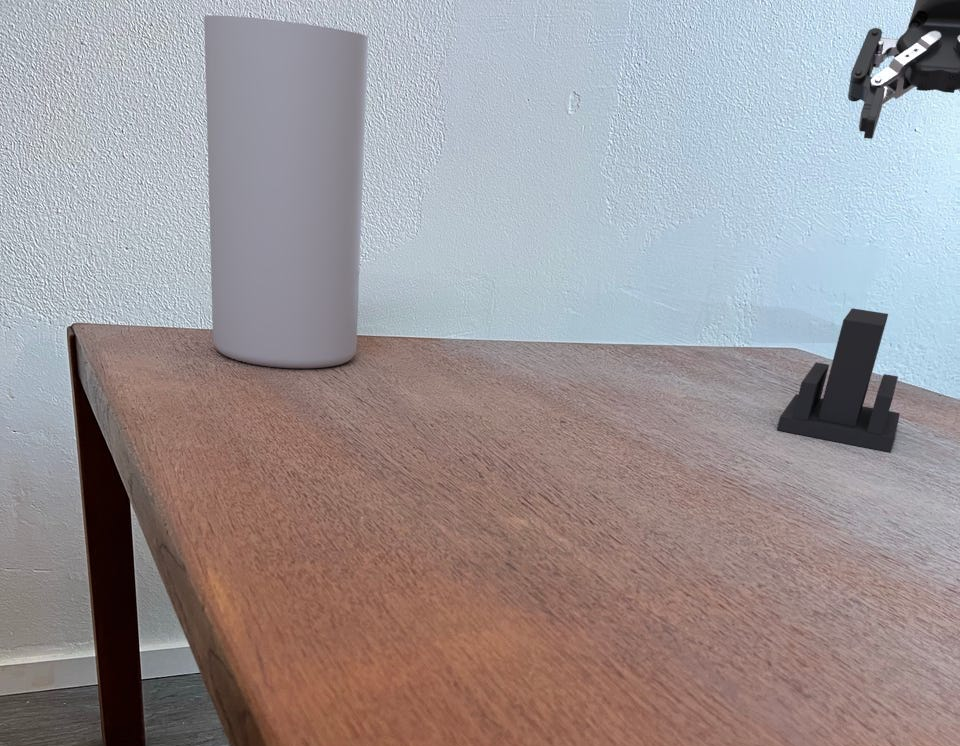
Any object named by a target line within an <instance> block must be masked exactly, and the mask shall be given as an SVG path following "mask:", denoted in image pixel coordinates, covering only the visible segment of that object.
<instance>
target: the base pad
mask: <svg viewBox="0 0 960 746" xmlns="http://www.w3.org/2000/svg"><path fill="white" fill-rule="evenodd" d="M829 367H830V364H827V363H823V362H822V363H821V362H815V363H814V364H813V366H812V367H811V368H810V370H809V371H808V372H807V374H806V375H805V377H804V378H803V379H802V380H801V383H800V387H799V391H798V394H797V393H795V395H794V396H793V397H792V399H791V401H790V402H789V403H788V405H787V406H786V408H785V409H784V410H783V412H782V413H781V415H780V416H779V418H778V419H779V420H778V424H777V428H776V431H780V432H784V433H789V434H794V435H799V436H804V437H810V438H816V439H820V440H824V441H831V442H835V443H841V444H845V445H851V446H856V447H861V448H866V449H872V450H875V451H882V452H888V453H891V452H892V450H893V446H894V443H895V439H896V435H897V430H898V424H899V420H900V415H901V414H900V412H897V411H891V409H890V408H891V407H892V402H893V399H894V395H895V390H896V386H897V382H898V380H899V379H898V378H899V376H898V375H892V374H886V373H883V375H882V378H881V381H880V383H879V387H878V390H877V393H876V396H875V400H874V403H873V406H872V407H869V406H864V405H863V407H862V410H861V413H860V415H859V418H858V421H857V424H856V426H855V427H851V426H846V425H841V424H836V423H830V422H825V421H820V420H818V416H819V412H820V408H821V404H822V401H823V398H822V395H823V391H824V387H825V382H826V379H827V377H828V372H829Z"/></svg>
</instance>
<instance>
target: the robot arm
mask: <svg viewBox="0 0 960 746" xmlns="http://www.w3.org/2000/svg"><path fill="white" fill-rule="evenodd" d="M882 35H883V31H882V29H881V28H879V27H873V28H870V29H869V30H868V31H867V34H866V36H865V38H864V41H863V43H862V46H861V48H860V50H859V53H858V55H857V58H856V61H855V62H854V65H853V67H852V70H851V72H850V79H849V84H848V85H849V88H848V92H847V99H848V100H849V101H850V102H858V101H863V105H862V109H861V112H860V115H859V116H860V117H859V122H858V124H859V125H858V130H859V132H861V133H862V132H863V133H864V135H863V139H869V140H873V138H874V134H875V131H876V128H877V125H878V122H879V118H880V115H881V112H882V109H883V108H882V107H883V105H884V104H886V103H887V102H889V101H890V100H892V99H895V100H898V99H899V98H900V97H902V96H904V95H905V94H906V93H908V92H910V91H911V90H912V89H914V88H916V91H924V92H927V91H939V92H943V93H950V94H955V91H958V92H959V93H960V0H915V3H914V6H913V9H912V12H911V16H910V19H909V22H908V25H907V28H906V31H905V32H904V33H903V34H902V35H900V37H898V39H897V38H887V37H882ZM890 57H893V59H892V60H891V61H890V63H889V65H887V67H885V68H884V69H882V70H881V71H879V72H877V74H875V75H873V76H872V73H873V70H874V69H878V68H880V66H881V64H882V63H884V62H885V60H886V59H887V58H890Z"/></svg>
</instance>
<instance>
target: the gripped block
mask: <svg viewBox="0 0 960 746" xmlns="http://www.w3.org/2000/svg"><path fill="white" fill-rule="evenodd" d="M888 317H889V313H885V312H879V311H872V310H865V309H861V308H854V307H853V308H851V309H850V310H849V312H848V313H847V314H846V316H845V317H844V319H843V320H842V324H841V328H840V331H839V335H838V339H837V343H836V346H835V350H834V353H833V354H834V355H833V359H832V362H831V365H830V370H829V373H828V376H827V377H828V378H827V381H826V385H825V388H824V389H825V390H824V392H823V397H822V399H823V401H822V404H821V408H820V412H819V416H818V420H820V421H825V422H830V423H836V424H841V425H846V426H851V427H855V426H856V424H857V421H858V418H859V415H860V413H861V410H862V407H863V406H864V404H865V400H866V397H867V392H868V388H869V385H870V381H871V378H872V374H873V371H874V367H875V365H876V364H875V363H876V360H877V357H878V353H879V350H880V347H881V342H882V339H883V335H884V331H885V328H886V325H887V321H888Z"/></svg>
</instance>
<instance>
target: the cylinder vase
mask: <svg viewBox="0 0 960 746" xmlns="http://www.w3.org/2000/svg"><path fill="white" fill-rule="evenodd" d="M203 22H204V24H203V25H204V58H205V63H204V64H205V93H206V94H205V95H206V98H205V99H206V129H207V130H206V132H207V138H206V139H207V169H208V173H207V175H208V205H209V208H208V209H209V241H210V243H209V245H210V278H211V279H210V280H211V284H210V285H211V314H212V315H211V316H212V317H211V318H212V342H213V346H214V348H215V349H216V350H217V351H218V352H219V353H220V354H222V356H223V355H224V356H225V357H228V358H230V359H232V360H234V359H235V361H238V362H241V361H242V362H241V363H245V362H246V363H245V364H251V365H255V366H263V367H270V368H280V369H321V368H322V369H323V368H330V367H335V366H339V365H344V364H345V363H347V362H350V361H351V360H352V359H353V358H354V357H355V355H356V352H357V345H358V344H357V341H358V314H359V291H360V289H359V288H360V266H361V264H360V263H361V239H362V238H361V237H362V213H363V211H362V210H363V187H364V185H363V183H364V159H365V135H366V106H367V85H368V83H367V81H368V57H369V53H368V52H369V36H367V35H365V34H362V33H358V32H355V31H349V30H344V29H339V28H333V27H327V26H321V25H314V24H309V23H301V22H294V21H285V20H276V19H268V18H260V17H259V18H258V17H248V16H235V15H218V14H217V15H211V14H210V15H205V16H204V17H203Z"/></svg>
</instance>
